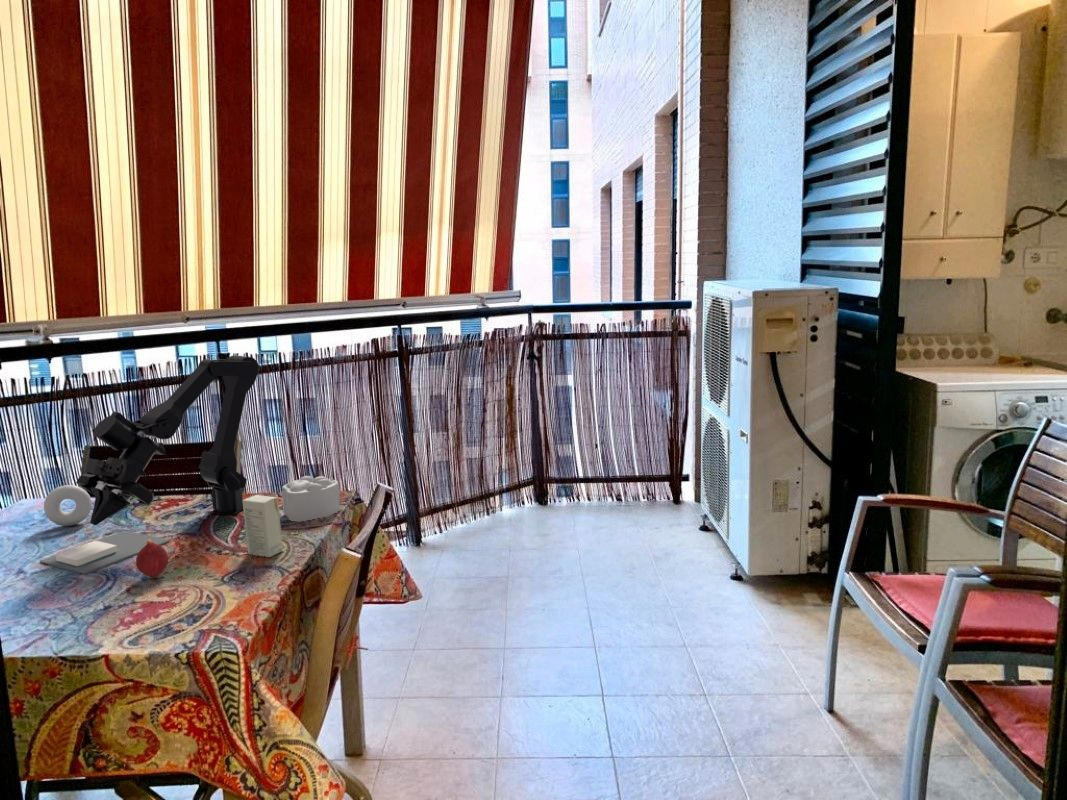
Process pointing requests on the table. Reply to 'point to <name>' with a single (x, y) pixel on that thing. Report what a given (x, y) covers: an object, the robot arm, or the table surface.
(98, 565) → the mat
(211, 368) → the robot arm
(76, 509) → the donut
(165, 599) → the table surface
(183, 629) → the table surface
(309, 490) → the lumpy-topped squat cylinder
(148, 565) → the onion
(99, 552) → the tile
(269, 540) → the skincare box
